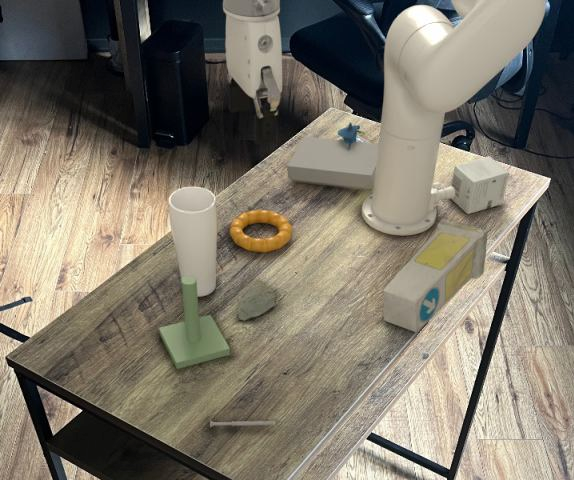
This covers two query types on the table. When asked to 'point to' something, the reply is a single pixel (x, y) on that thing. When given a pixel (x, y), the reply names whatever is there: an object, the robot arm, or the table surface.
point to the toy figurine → (350, 133)
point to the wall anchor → (243, 423)
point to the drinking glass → (195, 235)
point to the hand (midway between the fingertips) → (252, 125)
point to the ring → (260, 217)
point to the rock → (256, 302)
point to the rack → (193, 332)
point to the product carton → (479, 184)
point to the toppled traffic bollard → (435, 274)
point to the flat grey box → (334, 163)
